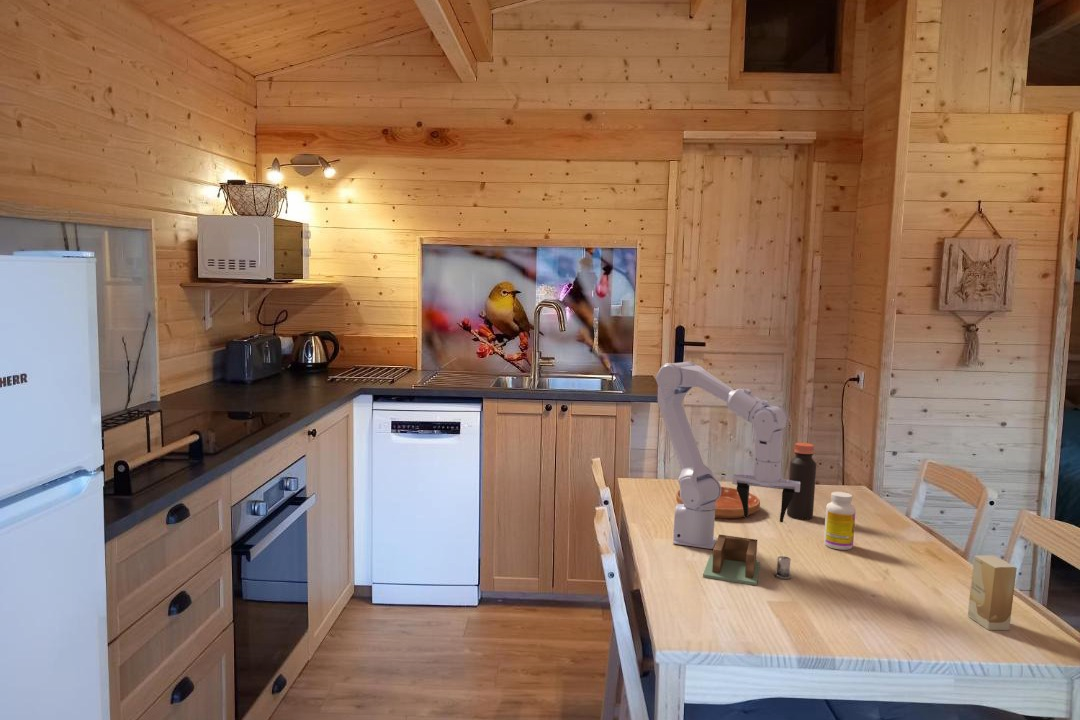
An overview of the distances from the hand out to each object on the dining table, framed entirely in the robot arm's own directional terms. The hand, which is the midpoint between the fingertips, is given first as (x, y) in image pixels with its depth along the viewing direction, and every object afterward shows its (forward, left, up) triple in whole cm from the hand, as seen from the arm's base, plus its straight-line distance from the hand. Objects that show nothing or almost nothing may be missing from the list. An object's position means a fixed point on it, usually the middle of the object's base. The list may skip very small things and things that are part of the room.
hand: (763, 518), depth 169 cm
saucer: (-14, +38, -10) cm, 42 cm away
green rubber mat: (-5, -9, -10) cm, 14 cm away
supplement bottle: (+17, +18, -10) cm, 27 cm away
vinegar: (+8, +40, -10) cm, 42 cm away
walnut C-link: (-5, -9, -9) cm, 14 cm away
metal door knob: (+5, -8, -10) cm, 14 cm away
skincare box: (+42, -17, -10) cm, 46 cm away
